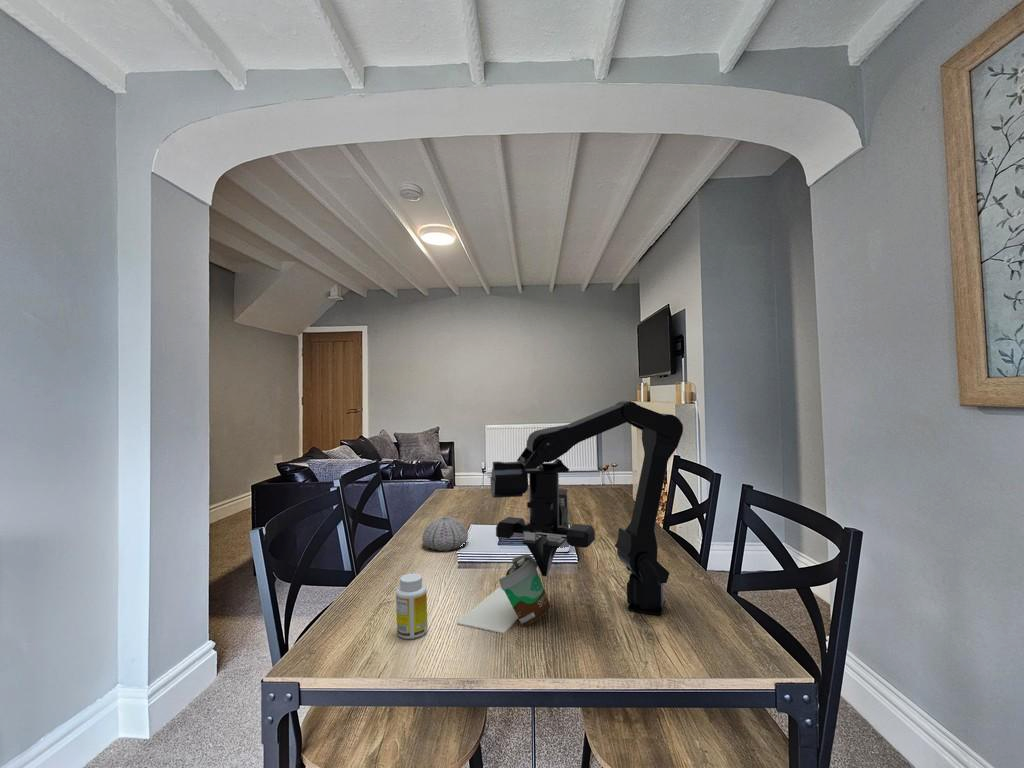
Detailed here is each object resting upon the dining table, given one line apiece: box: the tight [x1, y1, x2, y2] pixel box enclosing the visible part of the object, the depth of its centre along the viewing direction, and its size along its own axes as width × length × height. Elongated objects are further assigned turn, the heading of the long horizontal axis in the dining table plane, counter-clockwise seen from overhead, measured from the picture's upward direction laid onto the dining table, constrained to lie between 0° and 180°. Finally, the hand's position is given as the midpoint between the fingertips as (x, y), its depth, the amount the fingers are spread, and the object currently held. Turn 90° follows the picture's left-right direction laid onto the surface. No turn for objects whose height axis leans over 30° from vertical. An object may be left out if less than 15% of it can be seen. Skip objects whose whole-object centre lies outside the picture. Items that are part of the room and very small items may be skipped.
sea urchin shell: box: [421, 516, 469, 552], centre depth 142 cm, size 13×14×8 cm
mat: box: [456, 587, 519, 635], centre depth 100 cm, size 10×18×1 cm, turn 155°
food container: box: [498, 554, 551, 628], centre depth 97 cm, size 12×6×10 cm, turn 167°
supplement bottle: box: [395, 573, 428, 640], centre depth 91 cm, size 6×6×10 cm
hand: (545, 575), depth 96 cm, fingers closed
